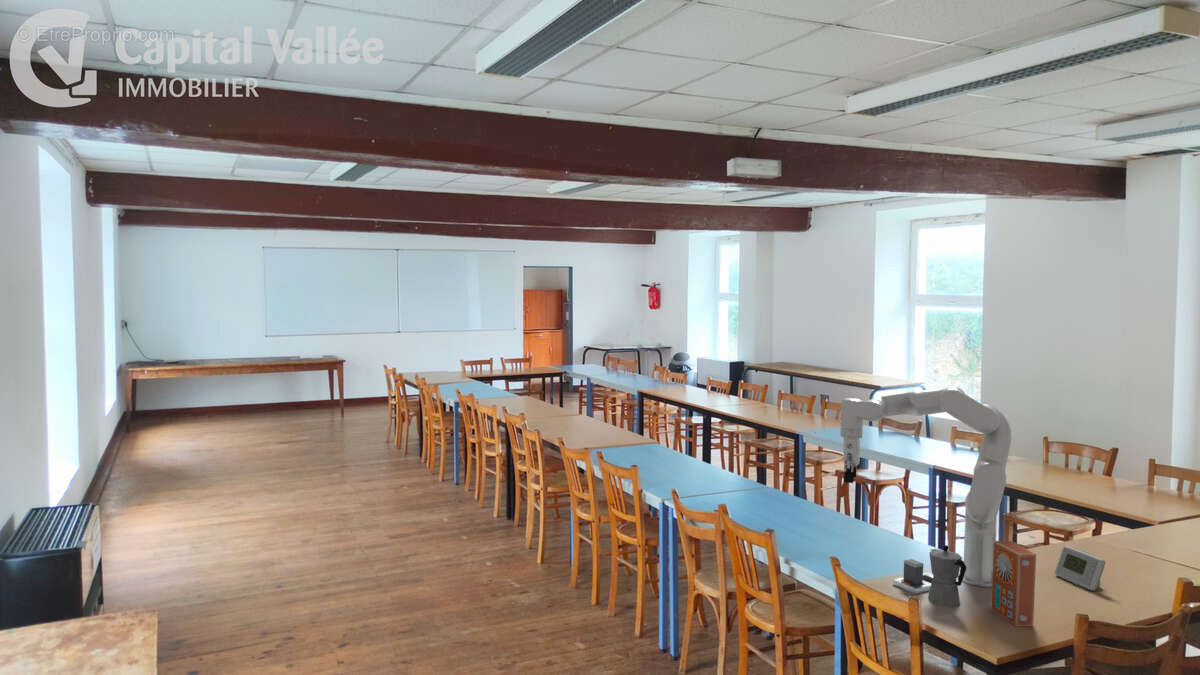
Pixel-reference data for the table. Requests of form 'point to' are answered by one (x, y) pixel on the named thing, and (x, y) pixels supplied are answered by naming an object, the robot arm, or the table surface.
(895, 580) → the power strip
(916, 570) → the plug
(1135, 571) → the table surface
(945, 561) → the coffeepot
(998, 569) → the control panel
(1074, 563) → the digital clock
